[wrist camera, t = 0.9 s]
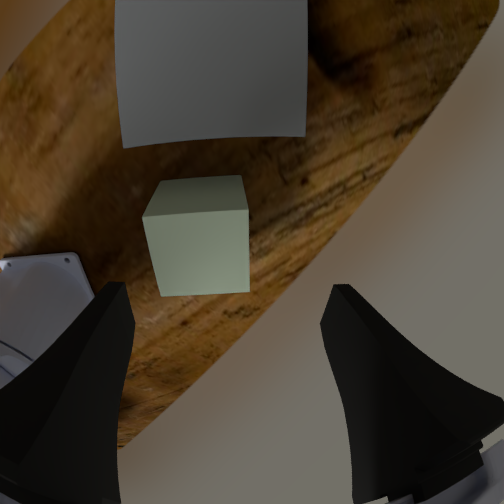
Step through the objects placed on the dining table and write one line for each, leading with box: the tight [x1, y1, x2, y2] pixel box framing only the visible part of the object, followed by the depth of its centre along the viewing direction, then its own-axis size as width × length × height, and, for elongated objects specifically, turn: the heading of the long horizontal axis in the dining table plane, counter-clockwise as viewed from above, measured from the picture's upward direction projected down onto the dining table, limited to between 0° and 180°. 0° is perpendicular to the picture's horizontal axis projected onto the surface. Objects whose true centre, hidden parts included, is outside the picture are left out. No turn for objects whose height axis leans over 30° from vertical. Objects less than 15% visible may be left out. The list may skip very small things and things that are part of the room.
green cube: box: [142, 175, 250, 296], centre depth 16 cm, size 5×5×5 cm
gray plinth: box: [115, 0, 308, 149], centre depth 11 cm, size 9×9×3 cm
